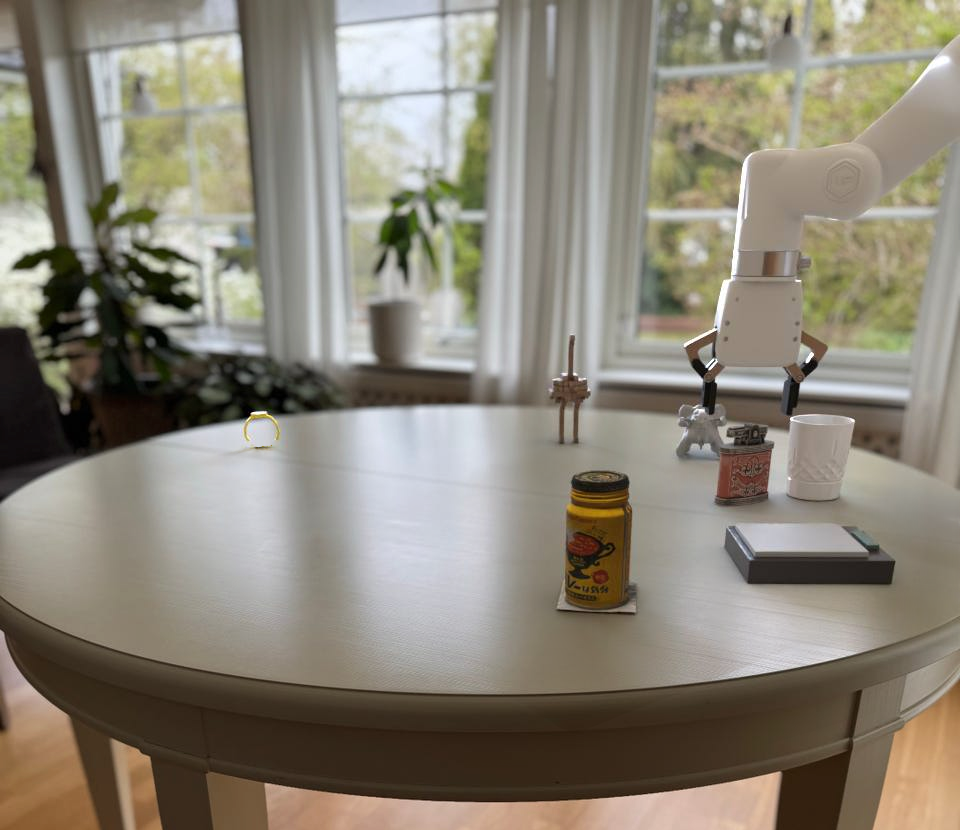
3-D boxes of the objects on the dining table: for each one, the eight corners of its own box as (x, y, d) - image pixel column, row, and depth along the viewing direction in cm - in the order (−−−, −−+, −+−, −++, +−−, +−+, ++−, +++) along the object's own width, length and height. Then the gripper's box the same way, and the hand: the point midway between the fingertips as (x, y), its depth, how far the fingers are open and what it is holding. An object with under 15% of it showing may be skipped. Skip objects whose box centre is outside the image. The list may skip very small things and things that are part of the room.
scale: (852, 546, 98) (856, 520, 97) (891, 584, 87) (896, 555, 86) (724, 546, 99) (726, 520, 98) (747, 583, 88) (750, 554, 87)
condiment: (556, 611, 82) (558, 483, 77) (564, 580, 90) (566, 462, 85) (635, 614, 81) (643, 485, 76) (636, 583, 88) (643, 464, 84)
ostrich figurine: (589, 445, 152) (593, 335, 144) (550, 446, 152) (552, 335, 144) (578, 427, 167) (581, 327, 160) (542, 428, 167) (543, 327, 160)
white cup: (837, 505, 114) (849, 426, 110) (775, 498, 118) (784, 422, 114) (848, 491, 120) (859, 416, 116) (788, 485, 124) (797, 412, 120)
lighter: (756, 494, 120) (764, 419, 116) (774, 499, 117) (783, 423, 113) (708, 501, 117) (715, 424, 113) (725, 507, 114) (733, 429, 110)
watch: (281, 444, 157) (277, 410, 155) (281, 447, 155) (277, 412, 152) (246, 446, 156) (242, 412, 154) (246, 449, 154) (241, 414, 151)
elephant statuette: (681, 462, 138) (684, 412, 135) (658, 447, 149) (661, 400, 146) (738, 460, 139) (743, 410, 136) (711, 445, 150) (715, 399, 147)
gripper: (829, 267, 108) (808, 409, 115) (686, 267, 109) (674, 408, 116) (848, 268, 102) (825, 419, 109) (696, 268, 103) (683, 418, 110)
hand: (747, 413), depth 112 cm, fingers open, 9 cm apart
